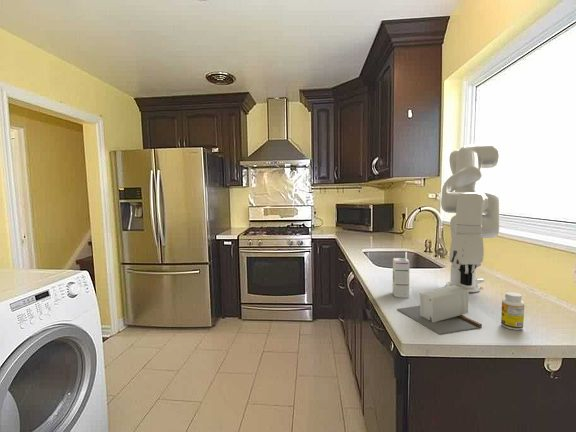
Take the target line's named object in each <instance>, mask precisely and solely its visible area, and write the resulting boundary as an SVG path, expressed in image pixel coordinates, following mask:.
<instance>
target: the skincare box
mask: <svg viewBox="0 0 576 432" xmlns="http://www.w3.org/2000/svg"><path fill="white" fill-rule="evenodd" d="M469 293H470V292H469V290H466V289H464V288H461V287H459V286H456V285H452V286H447V287H446V286H444V287H439V288H436V289H431V290H427V291H424V292H423V291H422V292H420V293H419V301H420V303H419V304H420V305H419V306H420V316H422V317H424V318H426V319H428V320H429V321H431V322H433V323H434V322H437V321H441V320H445V319H448V318H452V317H456V316H459V315H463V316H464V315H467V314H469Z"/></svg>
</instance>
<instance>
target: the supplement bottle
mask: <svg viewBox="0 0 576 432" xmlns="http://www.w3.org/2000/svg"><path fill="white" fill-rule="evenodd" d="M504 296H505V297H504V298H502V300H501V312H500V313H501V314H500V324H501V326H503V327H504V328H506V329H508V328H509V329H510V330H512V329H513V331H521V330H523V328H524V321H525V320H524V319H525V318H524V317H525V302H524V301H523V300H522V295H521V293H517V292H511V291H507V292H505V295H504ZM509 329H508V330H509Z"/></svg>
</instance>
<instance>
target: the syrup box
mask: <svg viewBox="0 0 576 432" xmlns="http://www.w3.org/2000/svg"><path fill="white" fill-rule="evenodd" d="M392 294H393V297H395V298H403V299H404V298H405V299H407V298H408V299H409V298H410V260H409V259H408V258H405V257H394V258H392Z"/></svg>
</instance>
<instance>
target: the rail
mask: <svg viewBox="0 0 576 432" xmlns="http://www.w3.org/2000/svg"><path fill="white" fill-rule="evenodd" d="M456 317H457V318H459V319H461V320H464V321H466V322H468V323H470V324H472V325H474V326H476V327H478V329H482V328H483V327H482V325H483V324H482V323H481V322H478V321H475V320H474V319H473V318H469V317H467V316H465V315H464V314H463V315H459V316H456Z"/></svg>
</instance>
